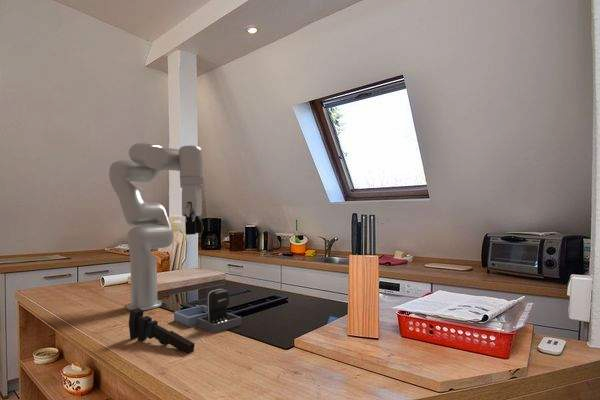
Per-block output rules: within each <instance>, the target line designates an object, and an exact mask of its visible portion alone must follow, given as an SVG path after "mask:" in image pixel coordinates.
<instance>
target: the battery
mask: <svg viewBox="0 0 600 400" xmlns="http://www.w3.org/2000/svg"><path fill="white" fill-rule="evenodd" d="M206 299H207V300H206V303H207V304H206V306H207V311H208V322H211V323H213V324H217V323H221V322H224V321H228V318H227V313H228V306H229V305H230V304H231V303H230V301H231V300H230V292H229V291H228V290H227V289H224V288H218V289H215V290H210V291H209V292H208V293H207V296H206Z"/></svg>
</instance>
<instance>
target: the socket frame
mask: <svg viewBox="0 0 600 400" xmlns="http://www.w3.org/2000/svg"><path fill="white" fill-rule="evenodd" d="M227 318H228V321H224V322H221V323H217V324H213V323H211V322H208V316H204V317H200V318H197V325H196V326H197V327H198V328H201V329H203V330H206V331H208V332H211V333H212V334H217V333H220V332H222V331H227V330H230V329H233V328H236V327H240V326H242V325H243V323H242V318H243V317H242V316H238V315H236V314H234V313H230V312H227Z"/></svg>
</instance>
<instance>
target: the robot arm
mask: <svg viewBox="0 0 600 400" xmlns="http://www.w3.org/2000/svg"><path fill="white" fill-rule="evenodd" d="M202 150H203V149H202V148H201V147H200V146H197V145H192V144H191V145H183V146H180V148H179V149H178V148H171V147H170V148H169V147H164V146H163V145H161V144H160V145H159V144H153V143H152V144H151V143H146V142H145V143H144V142H138V143H134V144H133V145H131V147H130V148H129V149H128V156H129V159H130V160H125V159H123V160H122V159H121V160H117V161H114V162H112V163H111V165H110V167H109V170H108V173H109V174H108V177H109V181H110V182H109V183H110V184H111V187H112V189H113V190H114V192H115V194H116V196H117V198H118V200H119V204H120V207H121V209H122V213H123V215H124V216H123V217H124V219H125V222H126V224H128V225H129V226H132V228H131V229H129V230H128V232H127V234H126V242H127V245H128V251H129V260H130V264H129V265H130V267H129V268H130V300H131V301H130V302H129V303H127V305H126V310H128V311H130V310H132V309H136V308H140V309H142V310H144V311H148V310H152V309H156V308H159V307H161V306H162V304H163V303H162V301H161V300H160V299H158V262H157V258H156V256H155V255H154V253H153V252H152V250H155V249H165V248H168V247H170V246H171V245H172V244H173V243H174V240H175V239H174V238H175V236H174V230H173V228H172V224H171V222H170V218H169V215H168V213H167V210H166V208H165V207H164V205H162V204H161V203H160V202H155V201H153V202H151V201H150V202H149V201H145V200H144V199H143V195H142V193H141V191H140V190H139V189H138V187H136V186H135V185H134V184H133V183H132V182H139V183H140V182H143V183H148V182H149V183H150V182H152V181H153V180H155V179H156V177H157V176H158V175H159V174H160V172H162V171H176V172H179V182H180V183H179V184H180V186H179V187H180V189H181V215H182V216H183V218H184V217H185V218H184V223H185V224H184V225H185V226H184V227H185V228H184V229H185V235H187V236H188V235H196V234H202V233H203V222H202V215H203V205H202V204H203V203H202V202H203V201H202V199H203V198H202V191H201V188H203V187H204V169H203V167H204V166H203V153H202V152H203V151H202Z"/></svg>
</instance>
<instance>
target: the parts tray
mask: <svg viewBox="0 0 600 400" xmlns="http://www.w3.org/2000/svg"><path fill="white" fill-rule="evenodd" d="M202 311H204V312H206V313H202ZM204 316H208V311H207V305H204V304H202V305H201V304H200V305H197V306H194V307H189V308H186V309H181V310H176V311H174V312H173V321H174V322H176V323H178V324H179V325H183V326H185V327H187V328H192V327H195V326H197V318H200V317H204Z"/></svg>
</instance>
